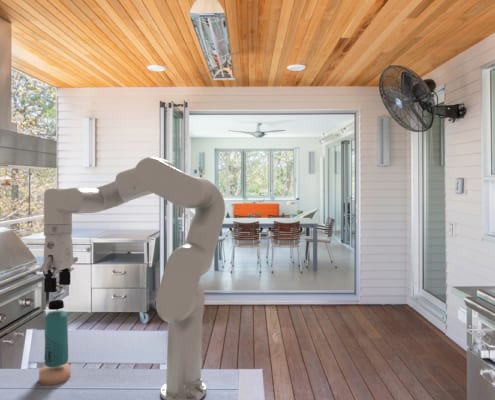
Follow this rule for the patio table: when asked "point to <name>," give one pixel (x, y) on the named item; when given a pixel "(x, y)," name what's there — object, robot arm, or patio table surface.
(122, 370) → the patio table surface
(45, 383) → the tan rounded flat piece
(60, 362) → the beverage bottle
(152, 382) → the patio table surface
